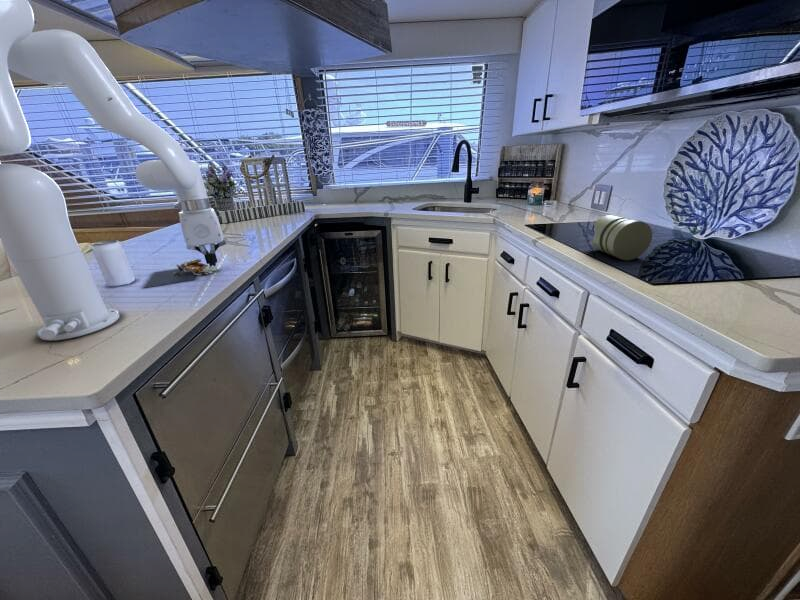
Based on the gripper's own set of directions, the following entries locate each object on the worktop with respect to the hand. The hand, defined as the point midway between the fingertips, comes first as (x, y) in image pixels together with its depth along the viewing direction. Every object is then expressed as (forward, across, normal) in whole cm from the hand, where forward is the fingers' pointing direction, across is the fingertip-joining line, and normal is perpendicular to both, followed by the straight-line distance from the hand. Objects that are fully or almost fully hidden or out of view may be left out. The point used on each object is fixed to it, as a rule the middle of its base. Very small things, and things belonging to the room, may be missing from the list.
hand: (213, 265), depth 102 cm
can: (+1, -24, 0) cm, 24 cm away
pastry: (+2, -4, 0) cm, 5 cm away
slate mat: (+1, -11, 0) cm, 11 cm away
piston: (+2, +113, -56) cm, 127 cm away
